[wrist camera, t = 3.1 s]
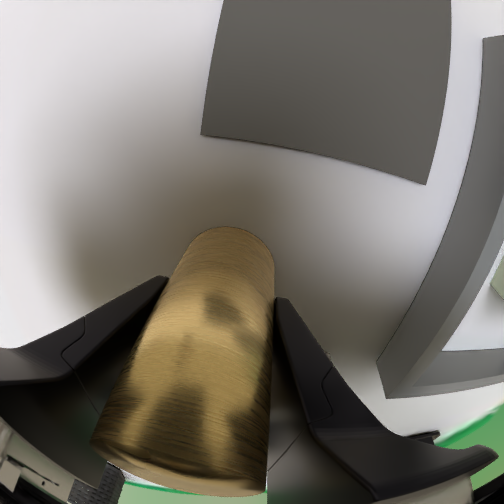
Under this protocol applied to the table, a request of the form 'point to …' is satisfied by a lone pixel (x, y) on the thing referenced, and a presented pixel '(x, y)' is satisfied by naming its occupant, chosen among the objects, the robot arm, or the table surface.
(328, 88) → the mat
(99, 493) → the storage bin
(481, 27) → the table surface
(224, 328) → the rod
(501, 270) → the module
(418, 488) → the robot arm
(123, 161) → the table surface
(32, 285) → the table surface
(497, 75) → the case
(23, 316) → the table surface
